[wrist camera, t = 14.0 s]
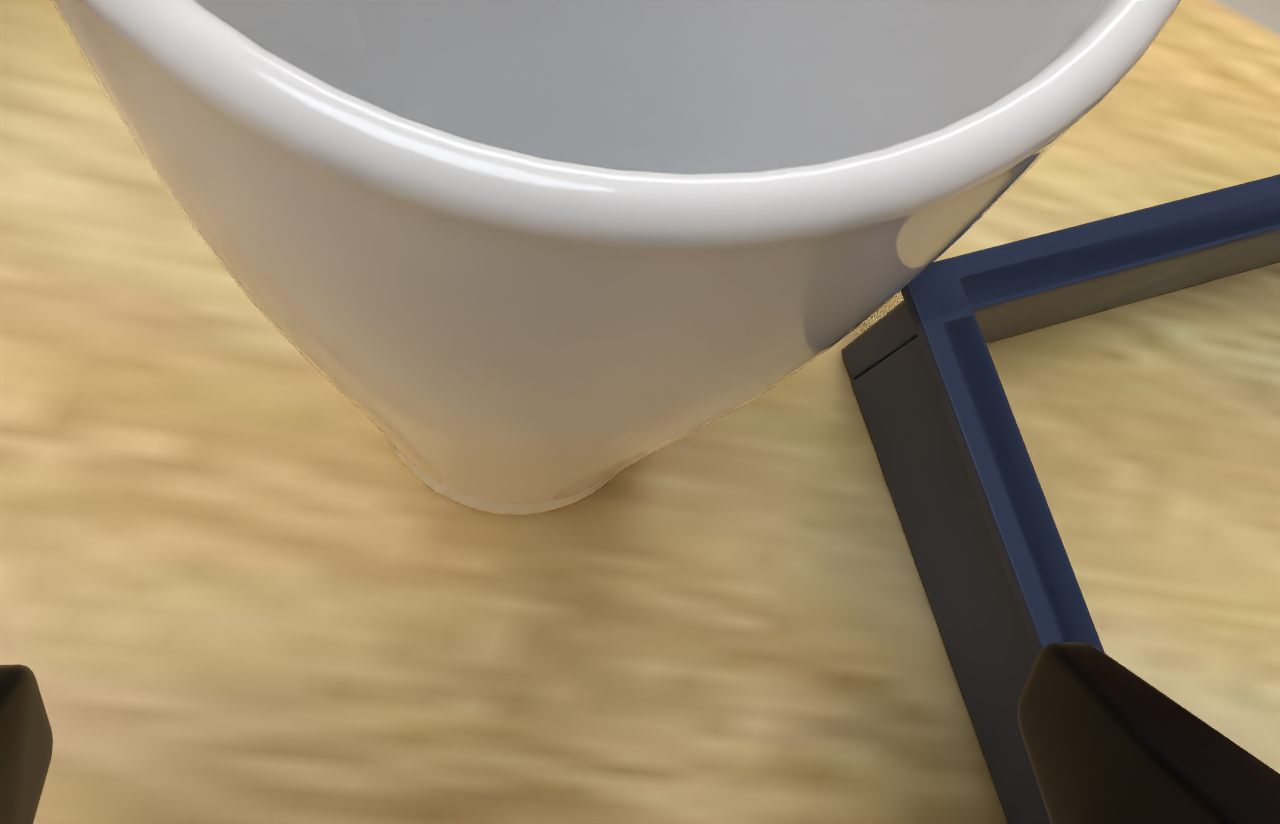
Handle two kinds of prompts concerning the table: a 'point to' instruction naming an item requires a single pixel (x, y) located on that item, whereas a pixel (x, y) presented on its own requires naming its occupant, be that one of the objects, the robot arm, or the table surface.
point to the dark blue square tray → (1017, 432)
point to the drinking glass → (586, 192)
